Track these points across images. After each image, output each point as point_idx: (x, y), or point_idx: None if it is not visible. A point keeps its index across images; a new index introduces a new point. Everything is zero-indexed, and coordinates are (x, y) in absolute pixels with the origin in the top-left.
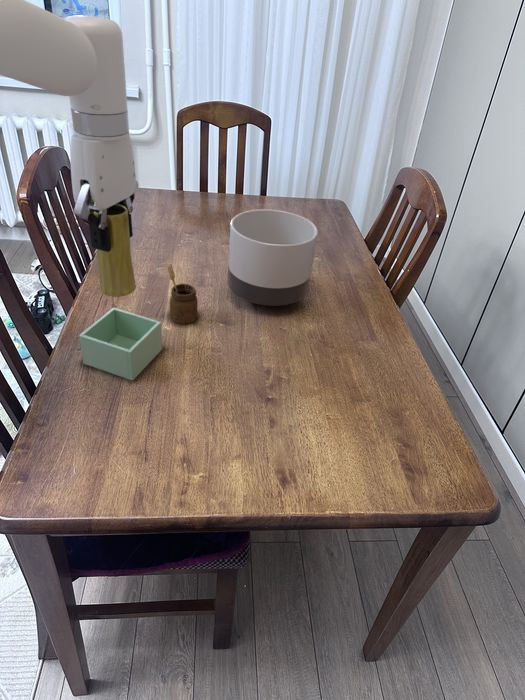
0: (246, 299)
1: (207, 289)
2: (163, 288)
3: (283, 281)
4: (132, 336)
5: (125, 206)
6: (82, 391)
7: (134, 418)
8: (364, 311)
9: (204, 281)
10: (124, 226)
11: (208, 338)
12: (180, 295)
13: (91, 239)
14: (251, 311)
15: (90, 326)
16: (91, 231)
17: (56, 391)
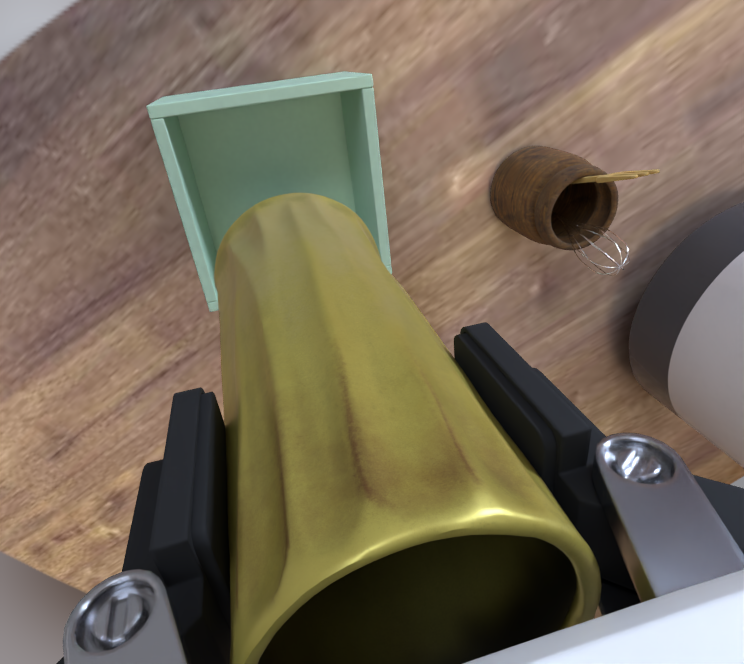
0: (636, 316)
1: (683, 148)
2: (648, 12)
3: (694, 427)
4: (349, 151)
5: (598, 616)
6: (77, 195)
7: (118, 364)
8: (691, 467)
9: (724, 109)
10: (396, 610)
11: (468, 300)
12: (546, 227)
13: (170, 433)
14: (617, 309)
15: (219, 98)
16: (127, 556)
17: (10, 130)
